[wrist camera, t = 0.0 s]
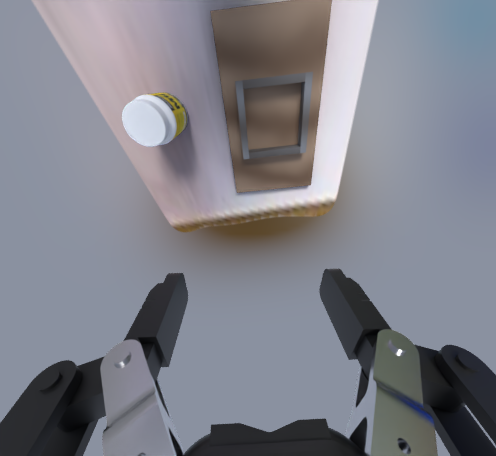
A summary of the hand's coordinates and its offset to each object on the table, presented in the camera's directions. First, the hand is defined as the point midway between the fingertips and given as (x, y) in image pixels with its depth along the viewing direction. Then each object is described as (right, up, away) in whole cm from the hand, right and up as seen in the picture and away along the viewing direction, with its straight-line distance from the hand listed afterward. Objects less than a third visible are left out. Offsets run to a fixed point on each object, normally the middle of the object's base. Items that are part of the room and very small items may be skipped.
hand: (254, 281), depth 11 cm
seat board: (+3, +18, +15) cm, 23 cm away
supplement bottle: (-11, +18, +14) cm, 25 cm away
